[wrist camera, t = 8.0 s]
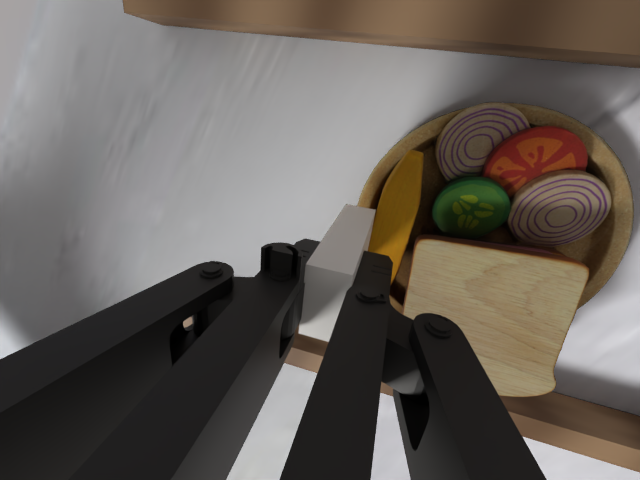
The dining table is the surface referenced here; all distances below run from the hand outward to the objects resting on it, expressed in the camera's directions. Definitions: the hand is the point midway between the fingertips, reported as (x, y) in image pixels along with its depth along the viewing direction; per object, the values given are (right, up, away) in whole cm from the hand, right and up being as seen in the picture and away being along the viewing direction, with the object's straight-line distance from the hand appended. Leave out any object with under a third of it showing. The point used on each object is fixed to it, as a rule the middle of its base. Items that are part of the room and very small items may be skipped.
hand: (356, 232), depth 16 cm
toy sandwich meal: (+7, 0, +1) cm, 7 cm away
